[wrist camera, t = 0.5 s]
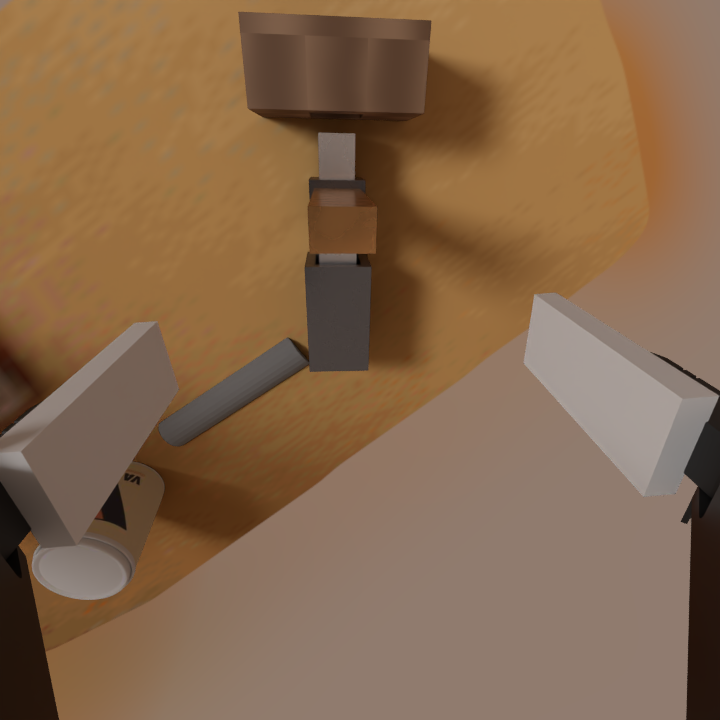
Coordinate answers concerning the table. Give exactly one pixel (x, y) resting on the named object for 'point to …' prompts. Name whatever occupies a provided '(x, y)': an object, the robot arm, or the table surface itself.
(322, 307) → the dark grey block
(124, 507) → the coffee cup
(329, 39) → the walnut socket
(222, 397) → the half round rod
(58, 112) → the table surface
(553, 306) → the robot arm
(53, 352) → the table surface
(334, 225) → the sliding bar
